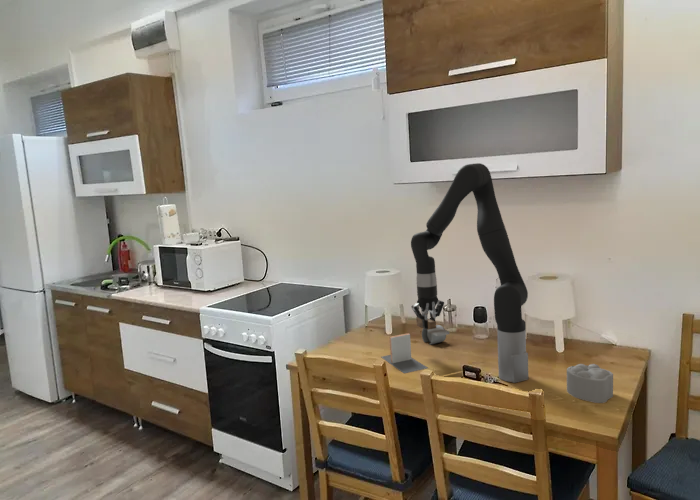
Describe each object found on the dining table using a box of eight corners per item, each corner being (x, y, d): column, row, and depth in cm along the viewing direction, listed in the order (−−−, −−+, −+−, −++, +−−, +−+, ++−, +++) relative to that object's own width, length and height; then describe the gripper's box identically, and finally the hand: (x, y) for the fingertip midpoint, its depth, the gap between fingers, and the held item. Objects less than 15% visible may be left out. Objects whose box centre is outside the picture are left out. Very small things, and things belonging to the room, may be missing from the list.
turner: (414, 326, 209) (413, 317, 209) (425, 324, 211) (424, 315, 211) (437, 336, 193) (436, 327, 192) (449, 334, 194) (448, 324, 194)
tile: (411, 359, 204) (410, 334, 203) (392, 363, 201) (391, 337, 200) (409, 358, 206) (408, 333, 204) (390, 361, 203) (389, 336, 201)
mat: (428, 369, 194) (428, 368, 194) (404, 374, 191) (404, 373, 191) (403, 353, 213) (403, 352, 213) (380, 358, 209) (380, 356, 209)
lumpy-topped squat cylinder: (601, 405, 158) (601, 377, 157) (560, 393, 168) (559, 367, 166) (616, 394, 165) (616, 367, 163) (575, 383, 174) (575, 358, 173)
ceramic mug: (448, 343, 222) (447, 325, 221) (432, 347, 218) (431, 329, 217) (432, 337, 231) (431, 320, 230) (417, 341, 228) (416, 323, 227)
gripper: (415, 288, 195) (418, 334, 197) (447, 283, 200) (450, 327, 202) (405, 285, 202) (408, 329, 204) (437, 280, 206) (439, 323, 209)
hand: (429, 328), depth 203 cm, fingers closed on turner, 2 cm apart
